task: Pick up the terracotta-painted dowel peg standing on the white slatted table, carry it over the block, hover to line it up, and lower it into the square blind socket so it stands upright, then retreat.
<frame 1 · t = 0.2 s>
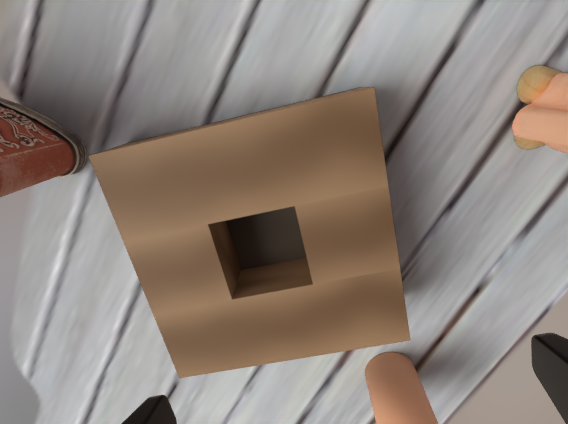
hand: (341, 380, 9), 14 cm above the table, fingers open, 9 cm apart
bore block: (267, 227, 23), on the table
peg: (389, 372, 26), on the table
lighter: (22, 133, 21), on the table
grandmother figurine: (536, 118, 20), on the table
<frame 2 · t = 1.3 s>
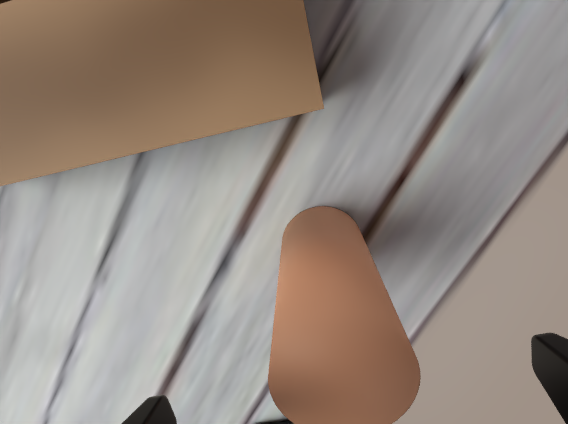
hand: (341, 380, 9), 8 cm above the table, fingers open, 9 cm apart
peg: (321, 244, 16), on the table
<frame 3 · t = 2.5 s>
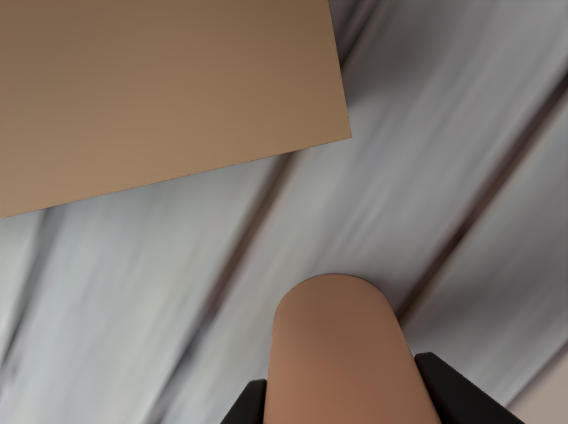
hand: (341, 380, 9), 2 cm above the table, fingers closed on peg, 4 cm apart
peg: (333, 327, 11), on the table, touching gripper
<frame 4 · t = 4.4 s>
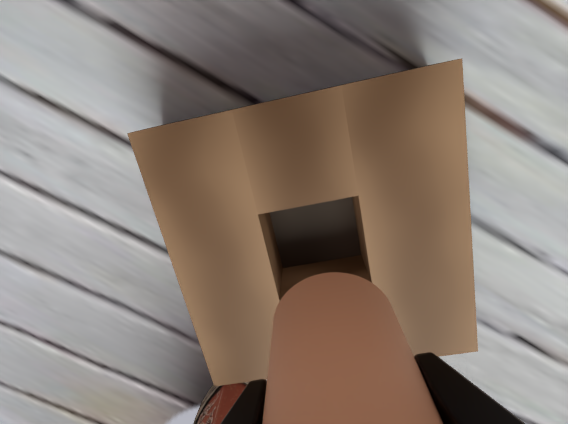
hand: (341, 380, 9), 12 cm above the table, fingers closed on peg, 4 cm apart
bore block: (314, 221, 21), on the table
peg: (333, 326, 11), point 10 cm above the table, touching gripper
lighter: (224, 408, 26), on the table
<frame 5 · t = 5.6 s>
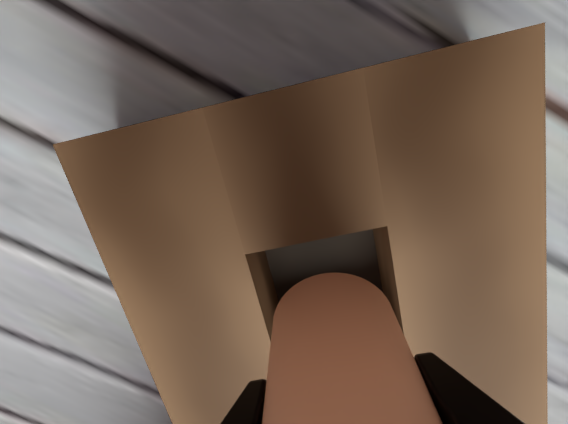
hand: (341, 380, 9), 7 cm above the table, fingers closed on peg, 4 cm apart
bore block: (320, 252, 16), on the table
peg: (333, 326, 11), point 5 cm above the table, touching gripper
when the fingers open (5 cm above the table, at t = 6.4 s): peg drops 2 cm, resting on bore block.
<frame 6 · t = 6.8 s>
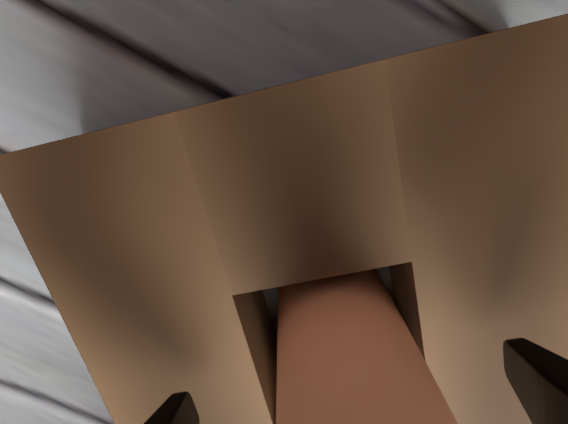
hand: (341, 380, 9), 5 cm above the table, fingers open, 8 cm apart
bore block: (325, 279, 13), on the table
peg: (328, 286, 13), point 1 cm above the table, touching bore block
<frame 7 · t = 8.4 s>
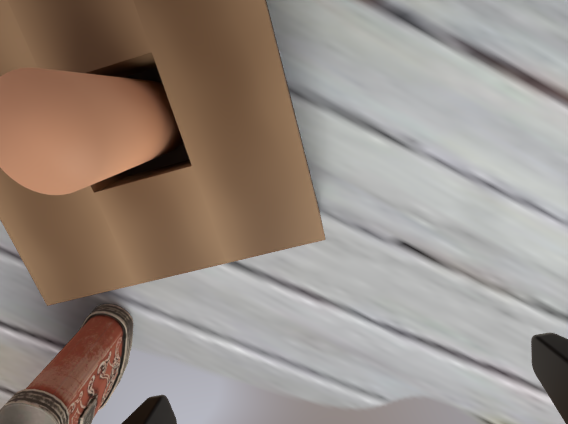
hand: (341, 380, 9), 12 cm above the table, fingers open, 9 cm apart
bore block: (156, 120, 18), on the table
peg: (152, 118, 18), point 1 cm above the table, touching bore block
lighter: (104, 352, 23), on the table
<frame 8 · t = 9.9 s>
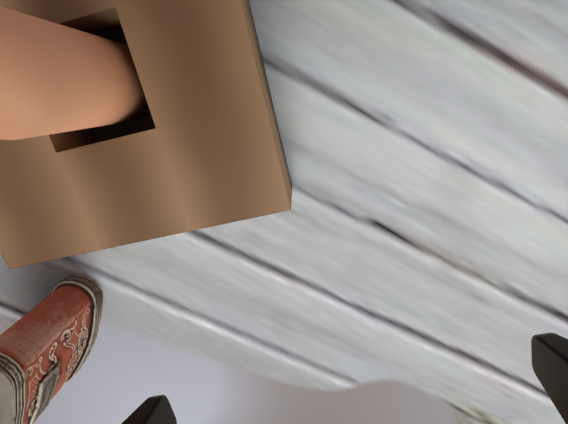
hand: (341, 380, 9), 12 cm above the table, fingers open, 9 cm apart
bore block: (128, 86, 18), on the table
peg: (123, 83, 18), point 1 cm above the table, touching bore block
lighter: (73, 324, 23), on the table
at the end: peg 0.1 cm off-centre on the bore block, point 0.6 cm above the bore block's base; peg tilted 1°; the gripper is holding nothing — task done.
